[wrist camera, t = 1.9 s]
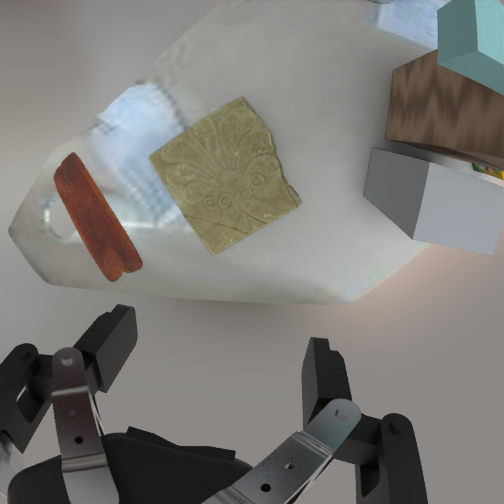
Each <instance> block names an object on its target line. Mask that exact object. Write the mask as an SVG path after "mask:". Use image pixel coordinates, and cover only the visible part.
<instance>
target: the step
mask: <svg viewBox="0 0 504 504" xmlns="http://www.w3.org/2000/svg"><path fill="white" fill-rule="evenodd" d="M363 196H364V197H365V198H366V199H367V200H369V201H370V202H371V203H372V204H373V205H374V206H376V207H377V208H378V209H379V210H380V211H381V212H383V213H384V214H385V215H386V216H387V217H388V218H389V219H390V220H392V221H393V222H394V223H395V224H396V225H397V226H398V227H399V228H400V229H401V230H403V231H404V232H405V233H406V234H407V235H408V236H409V237H410V238H411V239H412V240H417V241H422V242H427V243H433V244H438V245H443V246H448V247H453V248H458V249H463V250H468V251H472V252H477V253H482V254H487V255H492V256H493V254H494V251H495V248H496V244H497V241H498V238H499V234H500V231H501V227H502V224H503V220H504V187H501V186H499V185H496V184H494V183H491V182H488V181H486V180H483V179H480V178H478V177H475V176H472V175H469V174H466V173H463V172H460V171H457V170H454V169H451V168H448V167H445V166H442V165H438V164H435V163H432V162H428V161H424V160H421V159H417V158H413V157H409V156H405V155H400V154H396V153H392V152H387V151H383V150H378V149H373V148H372V150H371V156H370V162H369V168H368V173H367V179H366V184H365V190H364V195H363Z"/></svg>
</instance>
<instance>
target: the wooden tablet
mask: <svg viewBox="0 0 504 504" xmlns="http://www.w3.org/2000/svg"><path fill="white" fill-rule="evenodd" d="M54 181H55V184H56V187H57V191H58V193H59V195H60V197H61V199H62V201H63V203H64V205H65V207H66V209H67V211H68V213H69V215H70V217H71V219H72V221H73V223H74V225H75V227H76V229H77V231H78V232H79V234H80V236H81V238H82V240H83V242H84V244H85V245H86V247H87V249H88V251H89V252H90V254H91V255H92V257H93V259H94V260H95V262H96V263H97V265H98V267H99V268H100V270H101V271H102V273H103V274H104V275H105V277H106V278H107V279H108V280H109V281H111V282H114V281H116V280H117V279H119V278H120V277H121V276H122V273H123V272H126V273H130V272H135V271H137V270H139V269H140V268H141V267H142V261H141V259H140V258H139V255H138V254H137V252H136V250H135V248H134V246H133V245H132V243H131V241H130V239H129V237H128V236H127V234H126V232H125V231H124V229H123V227H122V226H121V224H120V223H119V221H118V219H117V218H116V216H115V214H114V213H113V211H112V210H111V208H110V207H109V205H108V204H107V202H106V200H105V199H104V197H103V195H102V194H101V192H100V190H99V189H98V187H97V186H96V184H95V182H94V181H93V179H92V177H91V176H90V174H89V172H88V171H87V169H86V168H85V166H84V165H83V163H82V161H81V160H80V158H79V157H78V156H77V155H76V154H75V153H71V154H70V155H68V157H66V158H65V159H64V160H63V162H62V163H61V166H59V167H58V168H57V170H56V172H55V174H54Z"/></svg>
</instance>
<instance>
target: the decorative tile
mask: <svg viewBox="0 0 504 504" xmlns="http://www.w3.org/2000/svg"><path fill="white" fill-rule="evenodd" d="M148 159H149V161H150V162H151V164H152V166H153V167H154V169H155V171H156V172H157V174H158V176H159V177H160V179H161V181H162V182H163V184H164V186H165V187H166V189H167V191H168V192H169V194H170V195H171V197H172V198H173V200H174V201H175V203H176V204H177V206H178V207H179V209H180V210H181V212H182V214H183V215H184V217H185V219H186V220H187V221H188V223H189V224H190V226H191V227H192V229H193V230H194V231H195V233H196V234H197V235H198V237H199V238H200V240H201V241H202V243H203V244H204V245H205V247H206V248H207V249H208V251H209V252H210V254H212V255H215V254H217V253H219V252H221V251H223V250H224V249H226V248H228V247H230V246H231V245H233V244H235V243H237V242H238V241H240V240H242V239H244V238H246V237H247V236H249V235H251V234H252V233H253V232H255V231H257V230H259V229H261V228H263V227H265V226H266V225H268V224H270V223H272V222H274V221H275V220H277V219H279V218H280V217H282V216H284V215H285V214H287V213H289V212H290V211H292V210H294V209H295V208H297V207H298V205H300V204H301V200H300V199H299V196H298V195H297V193H296V191H295V190H294V189H293V188H292V187H291V186H290V185H289V184H288V183H287V181H286V179H285V176H284V174H283V170H282V165H281V163H280V161H279V160H278V158H277V156H276V146H275V144H274V143H273V140H272V136H271V132H270V131H269V130H268V129H267V128H266V127H265V125H264V124H263V123H262V121H261V120H260V118H259V117H258V115H257V114H256V113H255V112H254V110H253V108H252V107H251V106H250V104H249V103H248V101H247V100H246V99H245V98H244V97H240V98H238V99H236V100H234V101H233V102H231V103H229V104H227V105H226V106H224V107H222V108H221V109H219V110H217V111H216V112H214V113H212V114H211V115H209V116H207V117H206V118H204V119H203V120H201V121H199V122H198V123H196V124H194V125H193V126H191V127H190V128H189V129H187V130H186V131H184V132H183V133H181V134H180V135H179V136H177V137H176V138H174V139H172V140H171V141H170V142H168V143H167V144H166V145H164V146H163V147H162V148H160V149H159V150H157V151H156V152H154V153H153V154H152V155H150V156H149V158H148Z"/></svg>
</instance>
